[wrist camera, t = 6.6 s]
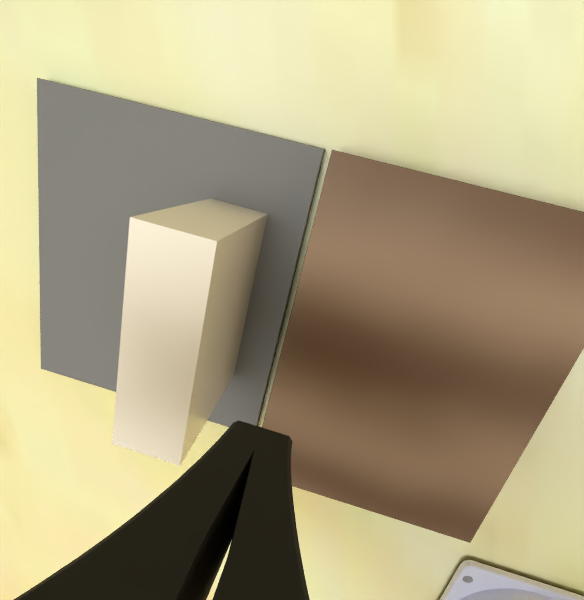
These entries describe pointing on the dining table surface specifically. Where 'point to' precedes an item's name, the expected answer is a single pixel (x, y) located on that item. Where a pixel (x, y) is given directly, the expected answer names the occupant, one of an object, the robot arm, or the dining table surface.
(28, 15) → the dining table surface
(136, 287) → the tile
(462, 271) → the board
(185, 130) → the mat
